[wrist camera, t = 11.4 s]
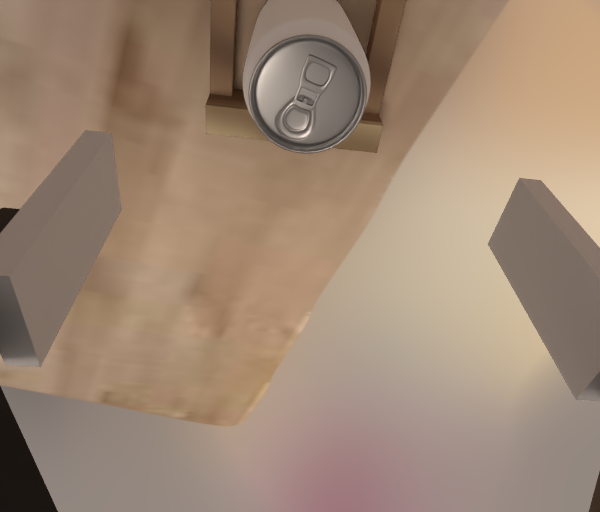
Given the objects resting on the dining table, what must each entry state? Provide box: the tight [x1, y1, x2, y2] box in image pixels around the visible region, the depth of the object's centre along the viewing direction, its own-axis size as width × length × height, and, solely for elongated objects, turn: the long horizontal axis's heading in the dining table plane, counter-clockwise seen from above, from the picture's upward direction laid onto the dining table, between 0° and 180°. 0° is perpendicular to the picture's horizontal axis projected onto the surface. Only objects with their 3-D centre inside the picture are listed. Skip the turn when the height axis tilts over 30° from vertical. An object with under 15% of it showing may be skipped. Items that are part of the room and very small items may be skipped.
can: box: [243, 0, 371, 153], centre depth 27 cm, size 6×6×12 cm
